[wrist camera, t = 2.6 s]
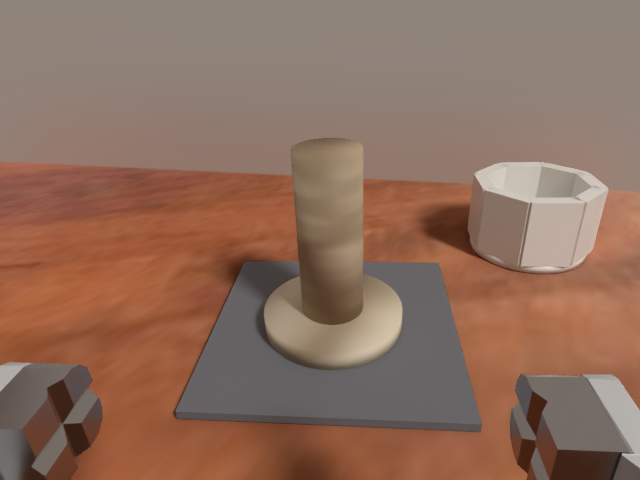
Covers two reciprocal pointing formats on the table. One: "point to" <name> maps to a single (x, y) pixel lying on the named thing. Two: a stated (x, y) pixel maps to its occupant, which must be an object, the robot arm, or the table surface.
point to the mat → (336, 385)
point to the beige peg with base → (331, 268)
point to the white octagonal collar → (535, 216)
